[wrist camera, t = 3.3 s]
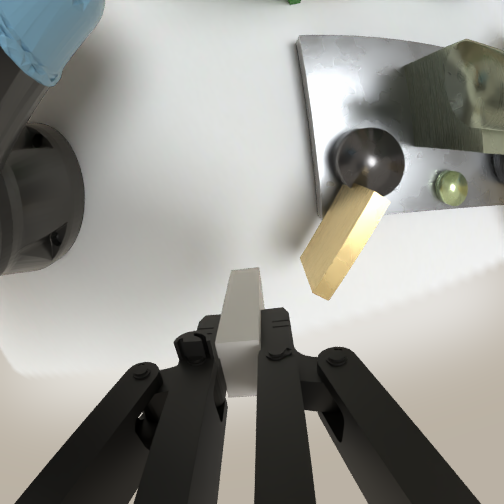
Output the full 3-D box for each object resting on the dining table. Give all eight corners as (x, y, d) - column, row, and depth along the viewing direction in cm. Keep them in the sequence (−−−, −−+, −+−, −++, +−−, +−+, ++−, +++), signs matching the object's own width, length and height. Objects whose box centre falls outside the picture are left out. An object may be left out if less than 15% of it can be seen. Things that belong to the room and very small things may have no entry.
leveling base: (318, 215, 25) (390, 304, 11) (296, 43, 20) (340, -65, 6) (513, 199, 24) (613, 242, 9) (502, 69, 19) (604, 59, 4)
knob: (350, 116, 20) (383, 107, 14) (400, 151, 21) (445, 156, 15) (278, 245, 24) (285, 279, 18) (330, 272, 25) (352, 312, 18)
